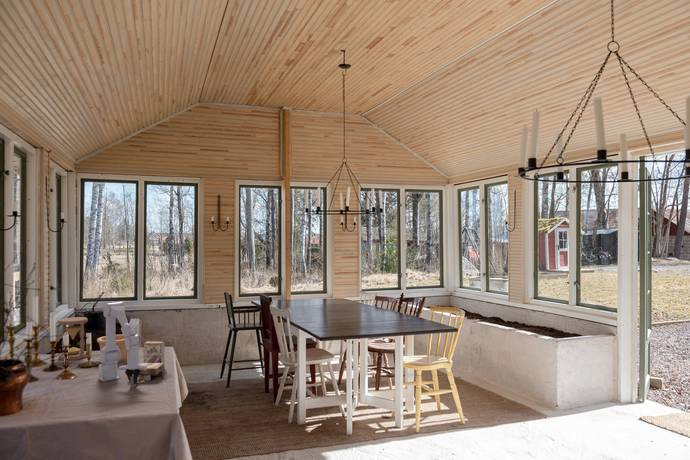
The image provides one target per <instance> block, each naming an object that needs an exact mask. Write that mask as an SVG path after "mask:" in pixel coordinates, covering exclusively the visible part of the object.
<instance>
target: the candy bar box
mask: <svg viewBox="0 0 690 460" xmlns="http://www.w3.org/2000/svg"><path fill="white" fill-rule="evenodd" d="M165 361H166V360H165V341H152V340H151V341H149V340H148V341H145V342H143V363H165ZM165 364H166V363H165ZM165 364H164V369H165V367H166V366H165Z"/></svg>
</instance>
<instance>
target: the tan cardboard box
mask: <svg viewBox="0 0 690 460" xmlns="http://www.w3.org/2000/svg"><path fill="white" fill-rule="evenodd" d="M164 364H166V363H144V362H139V365H143V366H147V370H141V371H140V373H139V375H151V377H163V376H164V369H165V368H164ZM133 371H134V370H133Z"/></svg>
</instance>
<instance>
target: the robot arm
mask: <svg viewBox="0 0 690 460" xmlns="http://www.w3.org/2000/svg"><path fill="white" fill-rule="evenodd" d="M103 317H104V318H105V336H106V346H105V347H103V348H102V349H101V352H100V353H99V361H100V363H101V364H99V365H98V380H100V381H101V382H107V381H113V380H118V379H119V380H120V376H118V371H124V373H125V375H126V376H127V379H128V382H129V384H130V376H132V375H133V377H134V384H136V385H137V384H138V383H137V378H138V375H139V373H140V371H141V370H147V366H143V365H139V363H140V362H139V361H140V360H139V358H140V357H139V356H140V355H139V346H140V345H141V336H140V335H139V334H138V333H137V332H136V331H135V330H134V327H133V325H132V324H131V323H129V322H128V321H129V320H128V319H127V316H126V304H125V302H124V301H119V302H107V303H105V304H104V306H103ZM116 319H117V320H118V322H119V324H120V326H121V328H120V330H121V333H122V335H124V337H125V345H126V350H127V361H126V365H120V366H118V363H117V362H118V360H120V357H121V354H120V348H119V347H117V346H116V345H115V335H116ZM133 370H134V371H133Z"/></svg>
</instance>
